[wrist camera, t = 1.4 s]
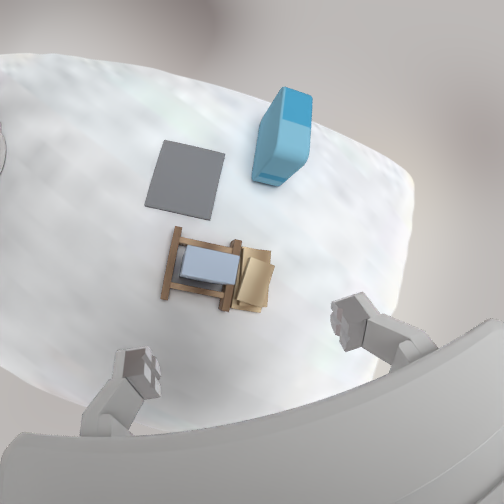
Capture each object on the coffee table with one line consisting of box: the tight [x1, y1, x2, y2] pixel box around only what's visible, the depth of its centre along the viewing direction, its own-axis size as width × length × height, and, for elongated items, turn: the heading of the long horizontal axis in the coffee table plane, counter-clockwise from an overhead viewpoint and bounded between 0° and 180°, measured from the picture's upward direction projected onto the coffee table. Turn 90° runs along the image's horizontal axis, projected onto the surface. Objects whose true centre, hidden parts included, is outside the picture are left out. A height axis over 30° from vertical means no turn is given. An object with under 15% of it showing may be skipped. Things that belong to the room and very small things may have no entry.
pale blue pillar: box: [179, 245, 240, 285], centre depth 36 cm, size 6×3×13 cm, turn 80°
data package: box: [252, 87, 312, 186], centre depth 41 cm, size 12×4×12 cm, turn 172°
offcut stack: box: [230, 246, 275, 313], centre depth 41 cm, size 5×9×4 cm, turn 170°
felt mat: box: [145, 140, 225, 220], centre depth 42 cm, size 10×11×1 cm
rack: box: [160, 226, 242, 312], centre depth 40 cm, size 10×10×3 cm
